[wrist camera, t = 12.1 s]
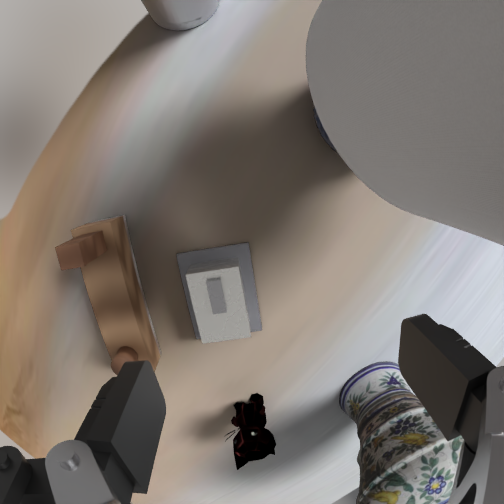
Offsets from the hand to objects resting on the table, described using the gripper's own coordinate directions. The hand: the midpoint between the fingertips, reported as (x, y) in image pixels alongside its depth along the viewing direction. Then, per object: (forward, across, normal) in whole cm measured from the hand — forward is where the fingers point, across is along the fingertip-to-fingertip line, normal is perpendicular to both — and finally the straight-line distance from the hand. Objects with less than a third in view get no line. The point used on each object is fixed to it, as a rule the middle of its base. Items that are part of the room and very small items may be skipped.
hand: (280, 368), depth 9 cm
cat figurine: (+30, +4, +29) cm, 42 cm away
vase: (+30, -16, +31) cm, 46 cm away
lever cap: (+30, +5, +9) cm, 31 cm away
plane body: (+30, +18, +7) cm, 36 cm away
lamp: (+30, -15, -11) cm, 36 cm away
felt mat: (+30, +5, +9) cm, 32 cm away
